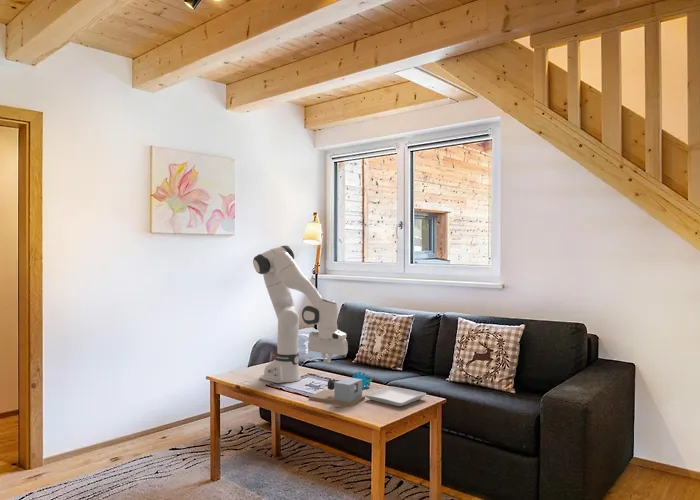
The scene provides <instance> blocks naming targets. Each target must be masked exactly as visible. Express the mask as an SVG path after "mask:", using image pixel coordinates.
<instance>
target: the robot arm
mask: <svg viewBox="0 0 700 500" xmlns="http://www.w3.org/2000/svg"><path fill="white" fill-rule="evenodd" d="M252 265H253V267H254V269H255V271H256V273H258V274H259V275H262V276H263V280H264V284H265V287H266V290H267V293H268V296H269V298H270V301H271V304H272V307H273V310H274V312H275V315H276V318H277V338H276V339H277V345H276V346H277V351H276V353H274V354H272V355H273V357H274V360H272V361H271V362H270V363H268V364H267V365H266V366H265V368H264V371H263V374H261V375H260V376H259V379H260V380H263V381H268V382H272V383H276V384H281V383H293V382H299V381H300V380H301V378H302V377H301V375H300V373H301V372H300V368H299V361H300V354H299V331H300V328H299V327H300V315H299V313H298V311H297V308H296V306H295V303H294V299H293V296H292V293H291V289H292V290H294V291H299V292H300V293H302V294H304V295H305V296H306V298H307V299H308V301H310V303H311V304H308V305H306V306H304V307H303V309H302V310H301V319H302V321H303V322H304V323H305V324H306V325H311V326H313V325H318V331H311V332H310V333H309V334H308V343H307V349H308V351H309V352H314V353H321V357H322V358H323V363H327V364H330V363H331V362H332V358H333V356H334V355H337V356H346V355H347V354H348V351H349V346H348V345H349V344H348V340H347V339H346V338H347V337H348V336H347V335H348V334H347V333H346V332H344V331H341V330H340V329H338V323H337V322H338V316H339V314H338V312H339V311H338V308H339V307H338V303H337V302H336V300H334V299H332V298H324V296H322V294H321V292H320V291H318V289H317V288H316V286H315V284H313V282H312V281H311V280H310V279H309V278H308V277H307V276H306V275H305V274H304V273H303V271H302V270H301V268H300V267H299V266H298V263H297V262H296V261H295V254H294V251H293V249H292V247H291V246H289V245H282V246H281V245H280V246H277V247H274V248H271V249H269V250H266V251H264V252H263V253H258V254H257V255H255V256H254V257H253V260H252ZM327 354H328V358H327V356H326V355H327Z"/></svg>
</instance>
